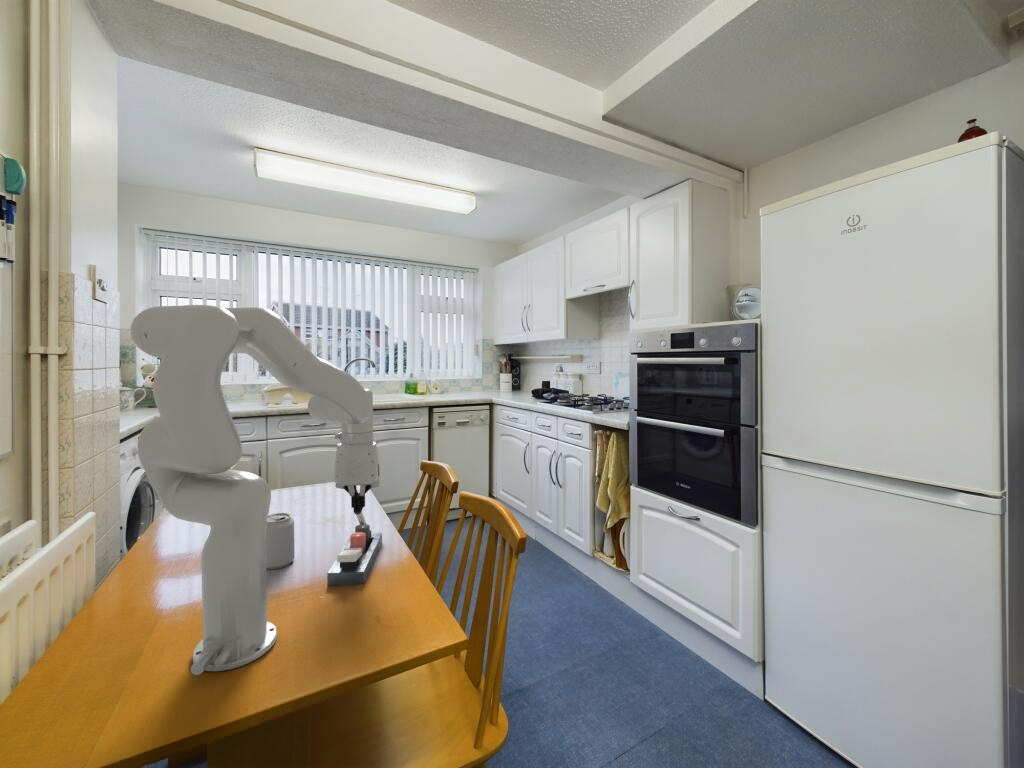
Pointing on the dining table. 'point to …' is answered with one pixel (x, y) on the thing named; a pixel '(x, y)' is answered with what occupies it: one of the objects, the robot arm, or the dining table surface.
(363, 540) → the button
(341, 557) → the block
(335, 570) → the panel
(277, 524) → the can
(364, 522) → the toggle
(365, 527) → the button
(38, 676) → the dining table surface
